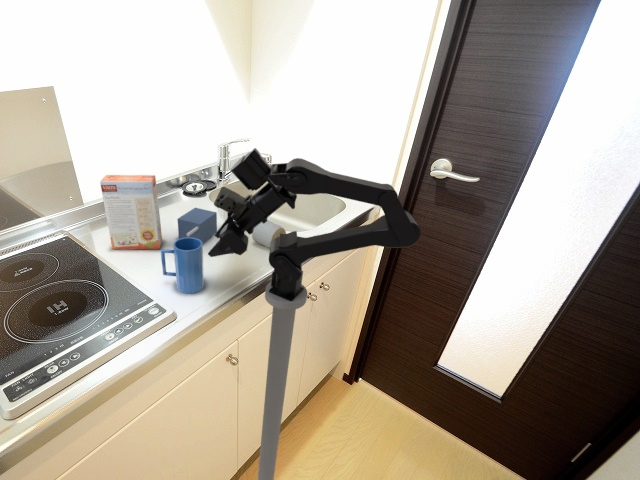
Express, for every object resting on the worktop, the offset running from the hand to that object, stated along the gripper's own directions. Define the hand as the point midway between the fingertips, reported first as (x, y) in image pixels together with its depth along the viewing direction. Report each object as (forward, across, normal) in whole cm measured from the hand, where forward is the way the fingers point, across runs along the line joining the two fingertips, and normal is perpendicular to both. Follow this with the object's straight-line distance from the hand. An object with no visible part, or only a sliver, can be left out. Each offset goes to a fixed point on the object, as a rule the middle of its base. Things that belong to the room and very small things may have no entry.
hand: (213, 245), depth 86 cm
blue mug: (+14, 0, +3) cm, 14 cm away
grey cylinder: (-1, -26, +18) cm, 32 cm away
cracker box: (+27, -19, -10) cm, 35 cm away
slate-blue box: (+16, -25, +1) cm, 30 cm away
